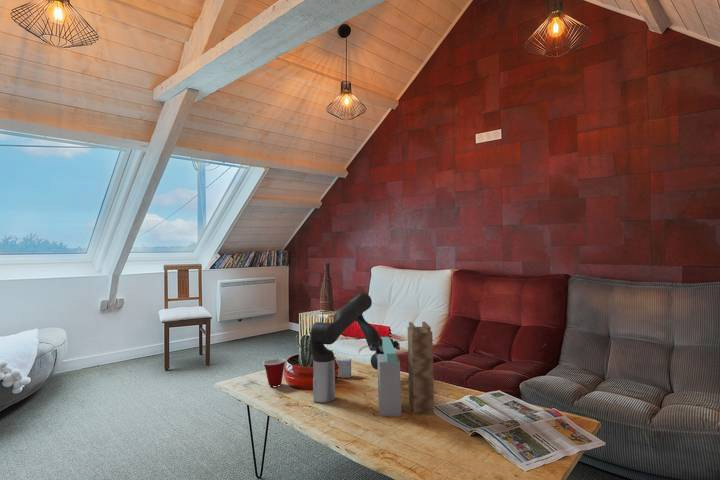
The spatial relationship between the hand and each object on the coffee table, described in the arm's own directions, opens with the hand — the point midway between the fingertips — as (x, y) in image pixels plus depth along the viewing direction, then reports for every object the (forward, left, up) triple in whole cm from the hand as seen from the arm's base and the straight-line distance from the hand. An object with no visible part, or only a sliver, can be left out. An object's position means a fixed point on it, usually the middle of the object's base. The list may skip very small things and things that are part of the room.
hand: (386, 340), depth 176 cm
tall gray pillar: (0, -7, -26) cm, 27 cm away
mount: (+13, -7, -26) cm, 30 cm away
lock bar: (0, -7, -3) cm, 8 cm away
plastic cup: (-52, +27, -26) cm, 64 cm away
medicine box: (-19, +37, -26) cm, 49 cm away
